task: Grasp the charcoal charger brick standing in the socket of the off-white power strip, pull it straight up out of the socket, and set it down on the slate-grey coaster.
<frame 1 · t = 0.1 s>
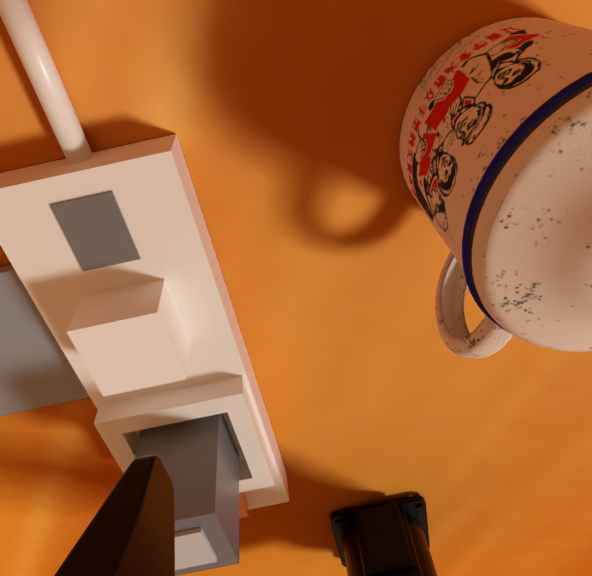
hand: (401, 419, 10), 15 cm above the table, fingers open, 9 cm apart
teacup with lid: (478, 161, 23), on the table
charger: (192, 438, 28), point 2 cm above the table, touching power strip
power strip: (172, 357, 27), on the table
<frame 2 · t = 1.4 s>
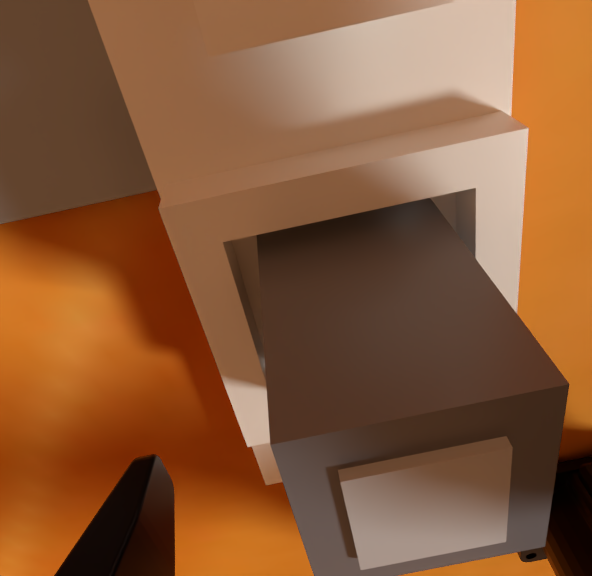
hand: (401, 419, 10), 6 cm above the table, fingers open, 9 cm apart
charger: (353, 286, 13), point 2 cm above the table, touching power strip
power strip: (316, 103, 12), on the table
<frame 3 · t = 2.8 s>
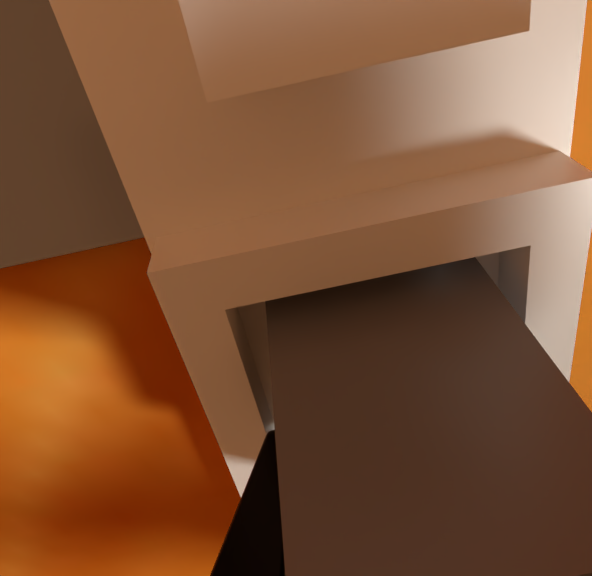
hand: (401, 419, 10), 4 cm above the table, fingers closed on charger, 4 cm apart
charger: (376, 347, 11), point 2 cm above the table, touching gripper, power strip
power strip: (334, 137, 11), on the table
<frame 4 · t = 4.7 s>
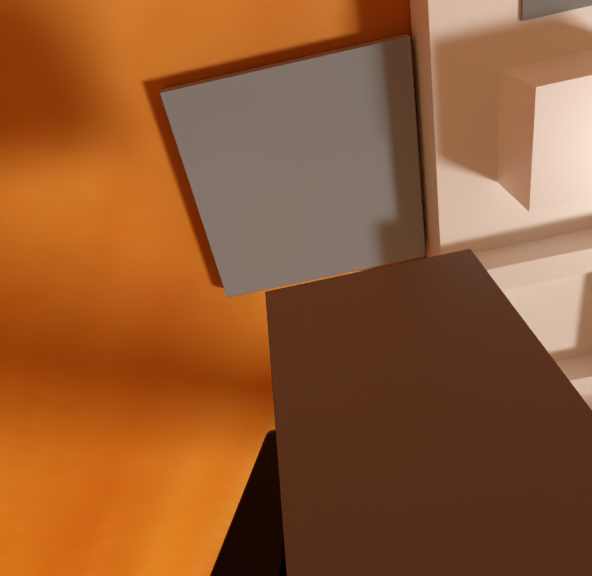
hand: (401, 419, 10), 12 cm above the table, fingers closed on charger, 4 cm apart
charger: (377, 348, 11), point 10 cm above the table, touching gripper
power strip: (521, 205, 20), on the table
coaster: (305, 177, 19), on the table
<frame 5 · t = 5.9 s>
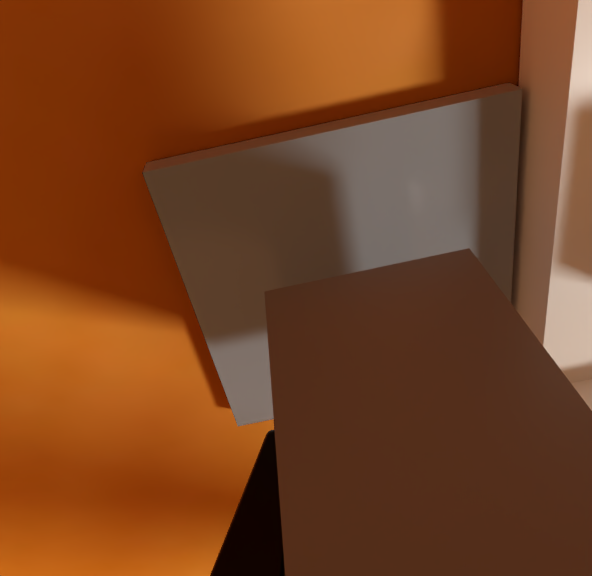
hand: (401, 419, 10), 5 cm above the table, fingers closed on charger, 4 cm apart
charger: (376, 347, 11), point 3 cm above the table, touching gripper
coaster: (350, 275, 14), on the table
when the fingers open (4 cm above the table, at t = 6.8 s): charger drops 2 cm, resting on coaster.
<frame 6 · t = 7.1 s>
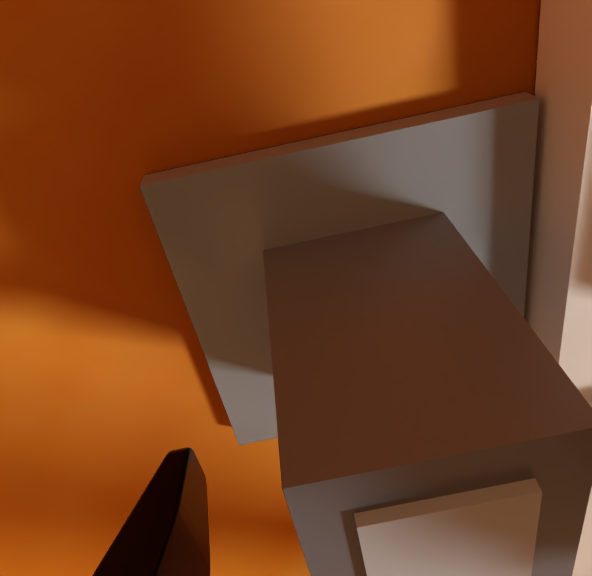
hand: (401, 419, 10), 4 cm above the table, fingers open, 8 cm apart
charger: (363, 304, 12), point 1 cm above the table, touching coaster
coaster: (356, 290, 13), on the table
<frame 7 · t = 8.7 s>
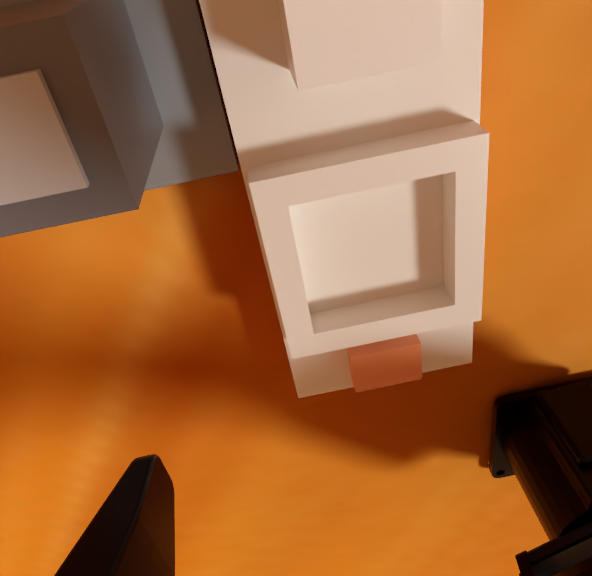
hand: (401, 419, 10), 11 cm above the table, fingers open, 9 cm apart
charger: (77, 73, 16), point 1 cm above the table, touching coaster
power strip: (346, 112, 18), on the table
coaster: (80, 69, 16), on the table
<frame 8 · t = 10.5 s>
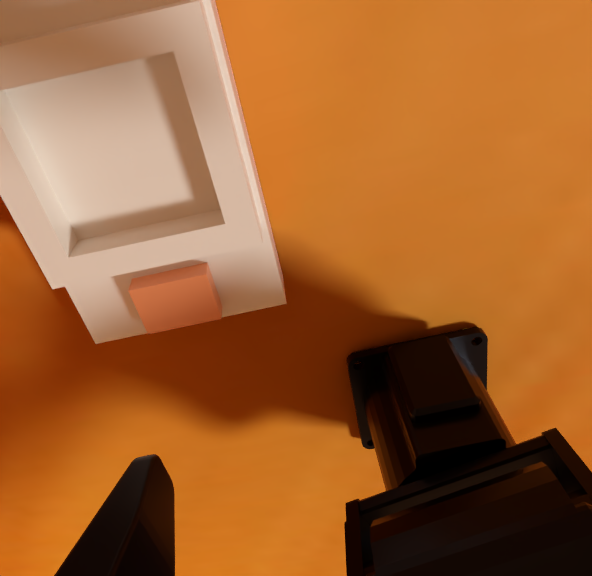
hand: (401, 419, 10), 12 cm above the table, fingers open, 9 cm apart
power strip: (86, 2, 16), on the table
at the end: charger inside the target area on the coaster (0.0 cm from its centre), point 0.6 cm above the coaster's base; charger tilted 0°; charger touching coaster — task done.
